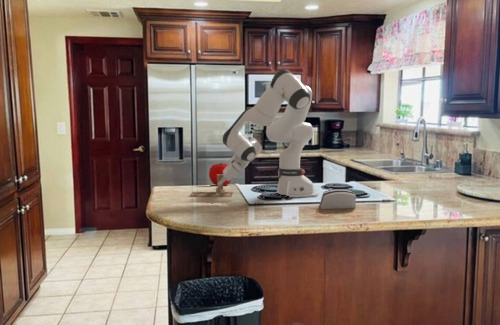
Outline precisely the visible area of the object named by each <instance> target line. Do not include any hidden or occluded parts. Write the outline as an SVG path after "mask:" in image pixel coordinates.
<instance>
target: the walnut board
mask: <svg viewBox="0 0 500 325" xmlns="http://www.w3.org/2000/svg"><path fill="white" fill-rule="evenodd" d="M233 193H234V191H225V194H223V195H216V191H192V192H191V193H190V194H189V195H188V198H232V196H233Z"/></svg>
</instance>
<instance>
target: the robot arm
mask: <svg viewBox="0 0 500 325" xmlns="http://www.w3.org/2000/svg"><path fill="white" fill-rule="evenodd" d="M269 87H270V88H267V89H266V90H264V92H263V93H262V94H261V95H260V96H259V98H258V100H257V102H256V103H255V105H254V106H253V107H247V108H246V109H244V110H243V111H242V112H241V114H240V115H239V116H238V117H237V118H236V119H235V121H234V122H233V124H232V125H231V126H230V127H229V128H228V129H227V130H226V131H225V132H224V133H223V135H222V144H224V145H225V146H226V147H227V148H229V149H230V151H231V152H232V153H233V156H231V158H230V159H229V163H228V164H227V165H228V166H227V167H226V168H225V169H224V170H223V178H222V179H221V180H220V181H219V182H218V183H219V184H220V185H221V184H222V183H223V182H225V181H226V180H227V181H230V180H231V181H232V179H234V177H236V176H237V175H238V174H240V173H242V172H243V171H244V170H245V168H246V167H248V165H249V164H250V162H252V161H253V160H254V159H256V157H257V156H258V155H259V154H260V152H261V151H262V150H263V145H262V143H260V141H258V139H257V138H255V137H252V138H251V139H249V140H248V139H247V138H246V137H245V136H244V135H243V134H242V132H241V130H242V129H243V128H244V126H245V125H246V124H247V123H251V124H253V125H255V126H259V127H265V126H267V127H266V130H265V134H266V137H267V139H268V140H269V141H270V142H272V143H279V144H280V143H283V144H284V143H289V144H288V147H286V148H285V149H283V150H281V152H280V153H279V159H278V160H279V165H278V166H279V167H278V172H277V173H278V174H277V176H278V185H277V188H276V192H275V193H279V194H285V195H287V196H289V197H288V198H303V197H305V198H306V197H318V196H319V192H318V190H316V189H315V185H314V183H313V181H311V179H310V178H308V177H307V176H305V175H304V174H306V171H305V169H303V168H301V156H302V151H303V148H304V147H305V146H306V144H307V143H309V141H310V140H312V138H313V136H314V128H313V125H312V124H311V123H310V122H306V118H307V116H308V114H309V111H310V107H311V105H312V104H311V103H312V101H313V100H312V99H313V90H312V89H311V87H310V86H308V85H306V84H303V83H302V81H301V80H300V79H298V77H297V76H295V75H294V74H293V72H291V71H290V70H288V69H286V68H284V69H280V70H278V71H276V73H275V74H274V75H273V77H272V80H271V82H270V86H269ZM284 102H286V103H287V105H286V107H285V110H284V112H283V114H282V115H281V116H280V117H279V118H278V119H276V120H275V121H274V119H275V118H276V116H277V115H278V113H279V111H280V109H281V106H282V104H284ZM231 181H230V182H231ZM287 196H286V197H287Z"/></svg>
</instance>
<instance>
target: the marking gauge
mask: <svg viewBox="0 0 500 325" xmlns="http://www.w3.org/2000/svg"><path fill="white" fill-rule="evenodd" d="M222 178H223V174H217V185H216V186H217V187H215V192H216V195H223V194H225V192H226V191H225V190H226V188H225V187H224V186H223V183H222V184H221V185H220V184H219V183H218V182H219V181H220V180H221V179H222Z"/></svg>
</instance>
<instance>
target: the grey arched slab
mask: <svg viewBox="0 0 500 325" xmlns="http://www.w3.org/2000/svg"><path fill="white" fill-rule="evenodd" d="M356 196H357V195H356V194H355V192H353V191H351V190H348V189H331V190H328V191H324V192H323V193H322V195H321V200H320V202H319V206H318V207H320V209H322V210H326V209H327V210H330V209H356V205H357V203H356V202H357V200H356V199H357V198H356Z"/></svg>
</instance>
